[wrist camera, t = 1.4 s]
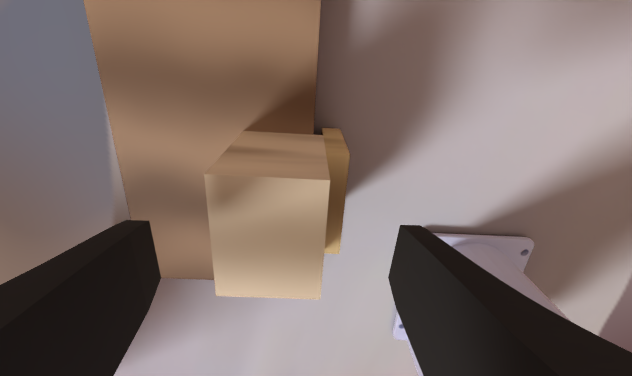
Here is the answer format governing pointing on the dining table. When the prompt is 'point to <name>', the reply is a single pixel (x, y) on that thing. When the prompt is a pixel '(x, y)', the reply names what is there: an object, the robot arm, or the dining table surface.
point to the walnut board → (197, 101)
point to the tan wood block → (276, 212)
